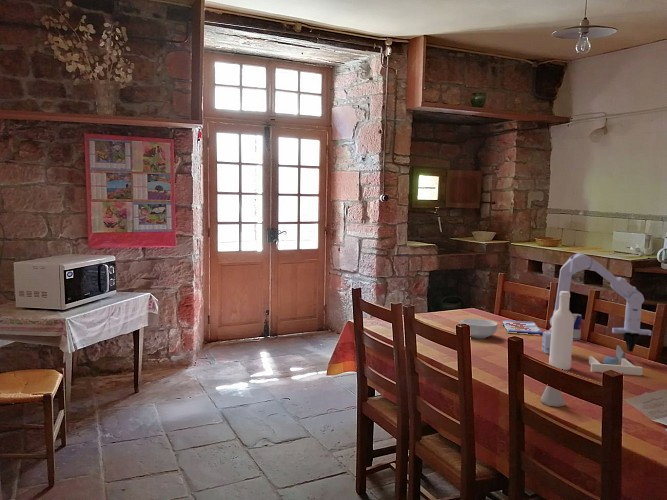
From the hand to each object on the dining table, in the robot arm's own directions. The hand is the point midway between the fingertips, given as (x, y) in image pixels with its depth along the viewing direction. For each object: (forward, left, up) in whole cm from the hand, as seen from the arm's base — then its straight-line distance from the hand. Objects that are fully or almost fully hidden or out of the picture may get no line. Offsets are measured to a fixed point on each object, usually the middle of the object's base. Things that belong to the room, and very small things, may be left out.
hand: (630, 350), depth 221 cm
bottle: (-32, -19, -4) cm, 37 cm away
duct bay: (-12, -15, -4) cm, 19 cm away
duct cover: (-5, -3, -3) cm, 6 cm away
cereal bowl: (-59, +22, -4) cm, 63 cm away
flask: (-44, -60, -4) cm, 74 cm away
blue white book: (-36, +44, -5) cm, 56 cm away
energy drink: (-14, +29, -4) cm, 33 cm away
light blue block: (-12, -15, -4) cm, 19 cm away
